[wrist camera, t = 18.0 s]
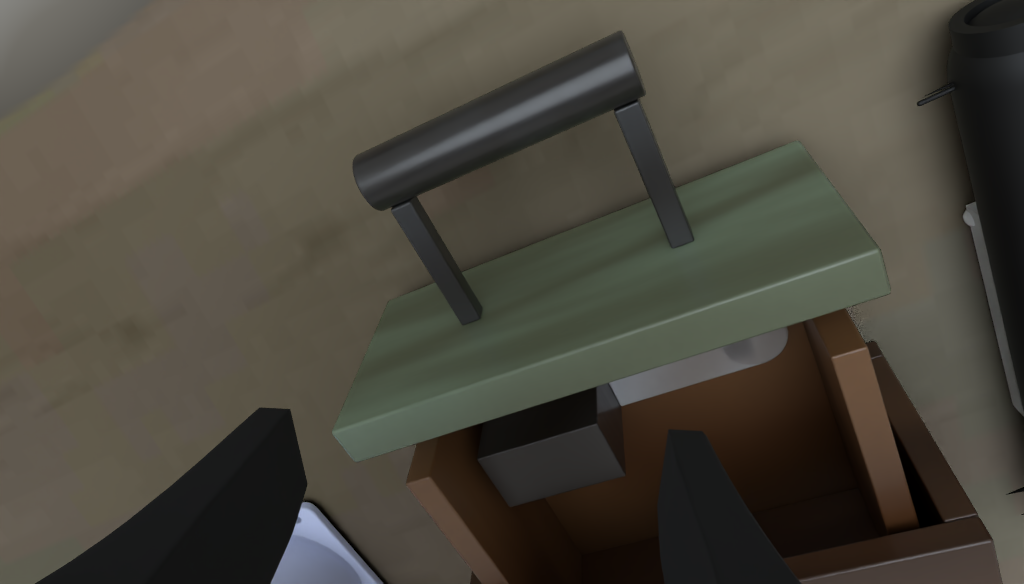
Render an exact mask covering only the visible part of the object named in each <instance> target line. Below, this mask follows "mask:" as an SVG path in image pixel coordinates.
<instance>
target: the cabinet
mask: <svg viewBox="0 0 1024 584" xmlns="http://www.w3.org/2000/svg"><path fill="white" fill-rule="evenodd" d="M866 345H867V347H868V350H869V353H870V357H871V360H872V363H873V367H874V370H875V374H876V377H877V381H878V384H879V388H880V391H881V394H882V398H883V401H884V405H885V408H886V412H887V415H888V419H889V422H890V425H891V429H892V432H893V436H894V439H895V443H896V446H897V450H898V453H899V457H900V460H901V463H902V467H903V470H904V474H905V477H906V481H907V484H908V488H909V491H910V494H911V498H912V501H913V505H914V508H915V512H916V515H917V519H918V522H919V525H920V528H919V529H914V530H910V531H905V532H901V533H896V534H892V535H887V536H882V537H878V538H873V539H869V540H864V541H860V542H855V543H850V544H846V545H841V546H837V547H832V548H828V549H823V550H818V551H814V552H809V553H805V554H800V555H796V556H791V557H786V558H783V560H784V561H785V562H786V564H787V565H788V566H789V568H790V569H791V571H792V572H793V573H794V574H795V576H796V577H797V578H798V580H799V581H800V582H801V583H802V584H1003V583H1002V579H1001V574H1000V570H999V565H998V560H997V556H996V551H995V547H994V542H993V539H992V537H991V536H990V534H989V532H988V531H987V529H986V527H985V526H984V524H983V522H982V521H981V519H980V518H979V517H978V513H977V512H976V510H975V508H974V507H973V505H972V503H971V502H970V500H969V498H968V497H967V495H966V493H965V492H964V490H963V488H962V487H961V485H960V483H959V481H958V480H957V478H956V476H955V475H954V473H953V471H952V470H951V468H950V466H949V465H948V463H947V461H946V460H945V458H944V456H943V455H942V453H941V451H940V449H939V448H938V446H937V444H936V443H935V441H934V439H933V438H932V436H931V434H930V433H929V431H928V429H927V428H926V426H925V424H924V423H923V421H922V419H921V418H920V416H919V414H918V412H917V411H916V409H915V407H914V406H913V404H912V402H911V401H910V399H909V397H908V396H907V394H906V392H905V391H904V389H903V387H902V386H901V384H900V382H899V381H898V379H897V377H896V375H895V374H894V372H893V370H892V369H891V367H890V365H889V364H888V362H887V360H886V359H885V357H884V356H883V354H882V352H881V350H880V348H879V347H878V345H877V343H876V342H875V341H873V342H870V343H866ZM470 584H482V583H481V582H480V580H479V579H478V578H477V577H476V575H475V574H474V573H473V571H472V575H471V582H470Z"/></svg>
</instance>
